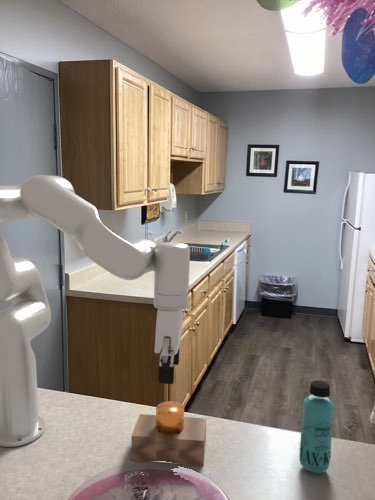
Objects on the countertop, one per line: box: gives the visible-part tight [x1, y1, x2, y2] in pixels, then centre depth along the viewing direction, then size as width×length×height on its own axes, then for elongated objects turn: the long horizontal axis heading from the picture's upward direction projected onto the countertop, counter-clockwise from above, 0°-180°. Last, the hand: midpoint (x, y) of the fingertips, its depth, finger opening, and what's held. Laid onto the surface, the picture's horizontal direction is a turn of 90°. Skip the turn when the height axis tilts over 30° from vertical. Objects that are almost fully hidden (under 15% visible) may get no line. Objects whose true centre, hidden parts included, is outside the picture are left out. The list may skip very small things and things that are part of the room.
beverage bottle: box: [299, 380, 335, 474], centre depth 91 cm, size 6×7×20 cm
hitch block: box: [131, 413, 207, 467], centre depth 98 cm, size 16×9×6 cm, turn 85°
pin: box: [155, 400, 185, 435], centre depth 98 cm, size 6×6×10 cm
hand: (169, 373), depth 96 cm, fingers open, 9 cm apart
